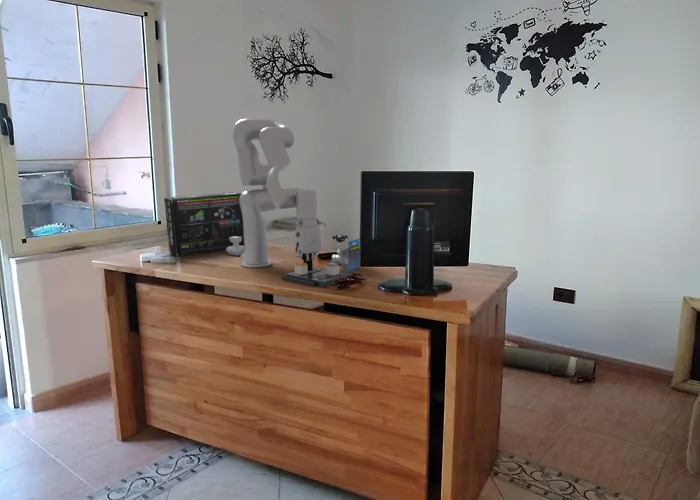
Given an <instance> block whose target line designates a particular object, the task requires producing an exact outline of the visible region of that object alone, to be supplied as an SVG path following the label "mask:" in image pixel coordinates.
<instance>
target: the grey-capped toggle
mask: <svg viewBox="0 0 700 500" xmlns="http://www.w3.org/2000/svg"><path fill="white" fill-rule="evenodd" d="M325 269H326V274H328V275H333V276H334V275H338V274H339V272H340V265H339V264H338V263H332V261H331V262H328V263H326V265H325Z"/></svg>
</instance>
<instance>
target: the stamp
mask: <svg viewBox="0 0 700 500" xmlns="http://www.w3.org/2000/svg"><path fill="white" fill-rule="evenodd" d="M229 240H230V242H233V246H230V247H227V248H226V250H225V251H226V252H227V253H228V254H229V255H231V256H235V255H236V256H237V257H238V256H241V255H243V254H244V246H239V242H241V240H242V237H238V236H233V237H229Z"/></svg>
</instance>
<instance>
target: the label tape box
mask: <svg viewBox="0 0 700 500" xmlns="http://www.w3.org/2000/svg"><path fill="white" fill-rule="evenodd" d="M359 240H360V238H355V239H353V240H350V241H347V243H348V247H346V248H345V249H342V251H341V264H340V272H344V273H350V272H352V271H354V270H356V269H359V268H360V259H359ZM354 243H355V244H354Z"/></svg>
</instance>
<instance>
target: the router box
mask: <svg viewBox="0 0 700 500" xmlns="http://www.w3.org/2000/svg"><path fill="white" fill-rule="evenodd" d="M241 194H242V192H241V193H239V192H235V191H234V192H233V191H230V192H229V191H228V192H217V193H204V194H192V195H190V194H189V195H181V196H179V195H178V196H170V197H169V196H167V197H164V198H163V200H164V208H165V219H166V230H167V242H168V243H167V244H168V251H169V252H170V253H171V254H172V256H174V257H182V256H181V255H184V256H188V255H187V254H192V255H196V254H195V253H199V254H204V253H203V252H206V253H211V252H218V251H226V248H227V247H230V246H233V242H230V240H229V237H233V236H238V237H242V240H241V242H239V246H244V234H243V219H242V212H241V208H240V204H239V198H240V195H241ZM170 253H169V254H170ZM171 254H170V255H171Z"/></svg>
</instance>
